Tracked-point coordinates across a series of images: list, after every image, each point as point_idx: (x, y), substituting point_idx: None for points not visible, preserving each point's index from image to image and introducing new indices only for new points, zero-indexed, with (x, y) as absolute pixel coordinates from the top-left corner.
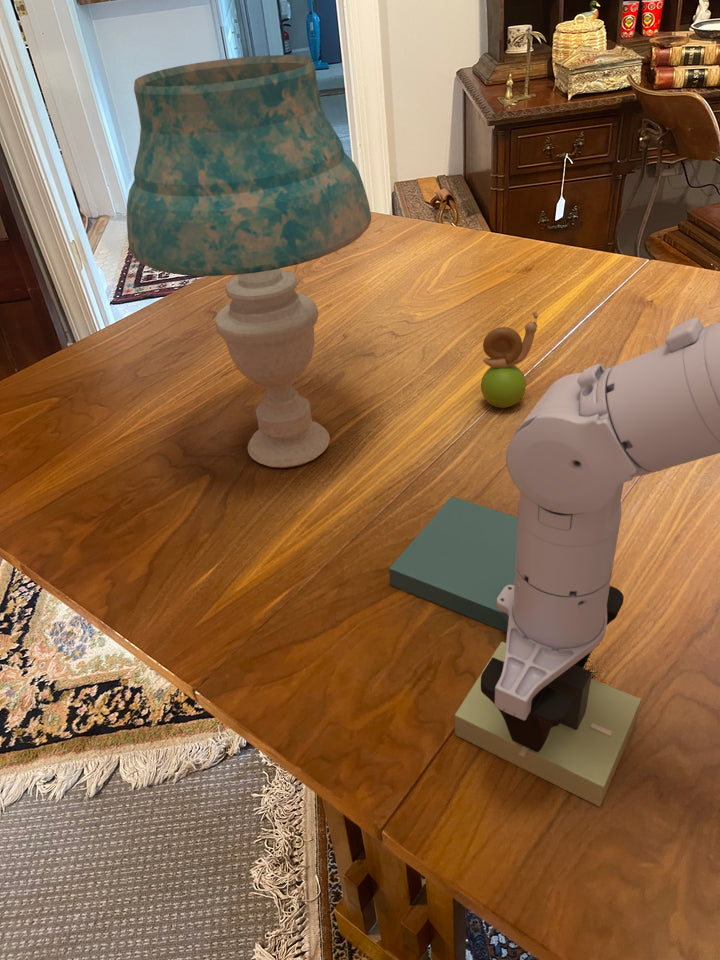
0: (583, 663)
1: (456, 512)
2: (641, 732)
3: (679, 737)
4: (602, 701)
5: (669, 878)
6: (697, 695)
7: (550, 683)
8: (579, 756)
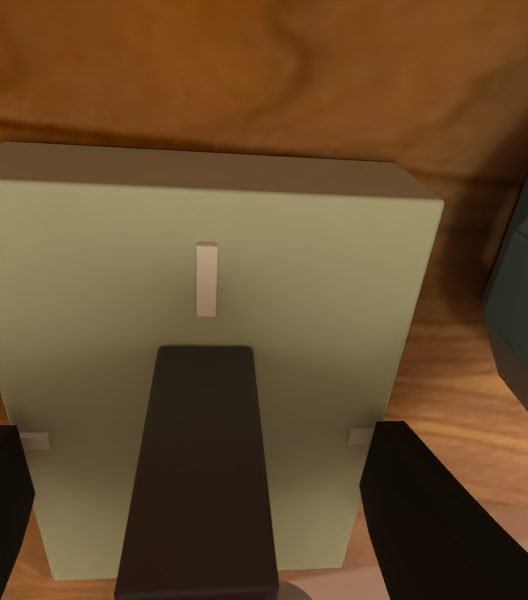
0: (373, 538)
1: None
2: None
3: None
4: (295, 522)
5: (32, 590)
6: None
7: None
8: (94, 533)
